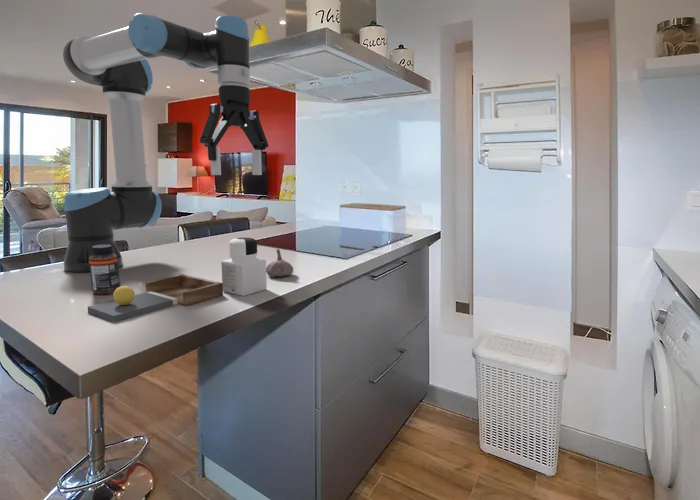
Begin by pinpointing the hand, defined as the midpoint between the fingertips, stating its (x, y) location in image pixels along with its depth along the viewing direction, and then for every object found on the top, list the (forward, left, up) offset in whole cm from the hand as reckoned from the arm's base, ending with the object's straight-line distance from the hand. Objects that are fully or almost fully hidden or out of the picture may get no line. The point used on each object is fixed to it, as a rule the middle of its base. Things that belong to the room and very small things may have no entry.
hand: (237, 175), depth 107 cm
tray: (-2, -16, -28) cm, 32 cm away
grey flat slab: (-2, -28, -28) cm, 40 cm away
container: (+7, -5, -28) cm, 29 cm away
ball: (-2, -30, -25) cm, 39 cm away
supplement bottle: (-19, -25, -28) cm, 42 cm away
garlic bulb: (+4, +11, -28) cm, 30 cm away
